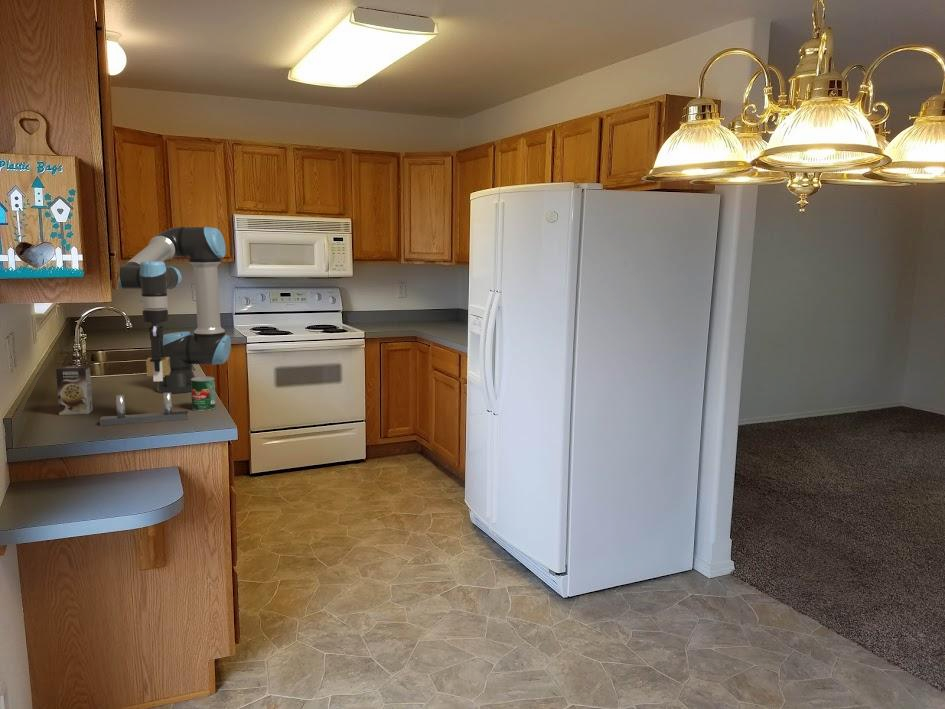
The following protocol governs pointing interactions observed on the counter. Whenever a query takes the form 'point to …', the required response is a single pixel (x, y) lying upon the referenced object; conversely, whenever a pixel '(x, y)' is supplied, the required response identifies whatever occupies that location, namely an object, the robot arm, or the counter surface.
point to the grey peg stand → (143, 418)
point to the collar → (165, 366)
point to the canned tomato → (203, 393)
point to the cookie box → (74, 390)
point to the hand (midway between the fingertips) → (159, 378)
